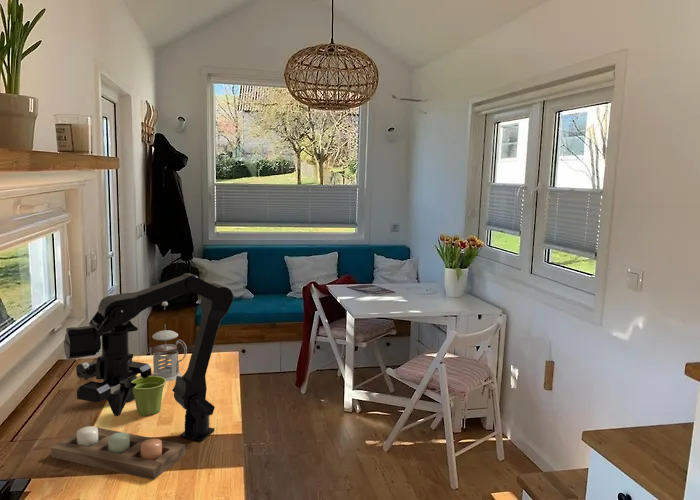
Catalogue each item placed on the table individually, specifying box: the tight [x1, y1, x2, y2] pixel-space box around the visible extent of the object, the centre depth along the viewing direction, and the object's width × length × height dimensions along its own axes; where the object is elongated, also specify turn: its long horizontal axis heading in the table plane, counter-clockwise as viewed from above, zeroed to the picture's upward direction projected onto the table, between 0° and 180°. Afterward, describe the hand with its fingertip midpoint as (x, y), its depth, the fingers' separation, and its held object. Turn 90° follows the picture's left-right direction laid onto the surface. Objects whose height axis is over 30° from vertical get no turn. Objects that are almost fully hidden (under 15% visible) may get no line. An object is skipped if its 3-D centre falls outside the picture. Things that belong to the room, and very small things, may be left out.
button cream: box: [76, 425, 99, 447], centre depth 135 cm, size 5×5×4 cm
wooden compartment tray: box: [50, 425, 186, 481], centre depth 133 cm, size 12×28×2 cm, turn 73°
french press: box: [150, 301, 188, 382], centre depth 183 cm, size 10×12×25 cm
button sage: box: [108, 431, 130, 454], centre depth 133 cm, size 5×5×4 cm
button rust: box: [141, 438, 162, 461], centre depth 130 cm, size 5×5×4 cm
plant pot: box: [131, 375, 167, 417], centre depth 157 cm, size 9×9×9 cm
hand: (117, 415), depth 132 cm, fingers closed
